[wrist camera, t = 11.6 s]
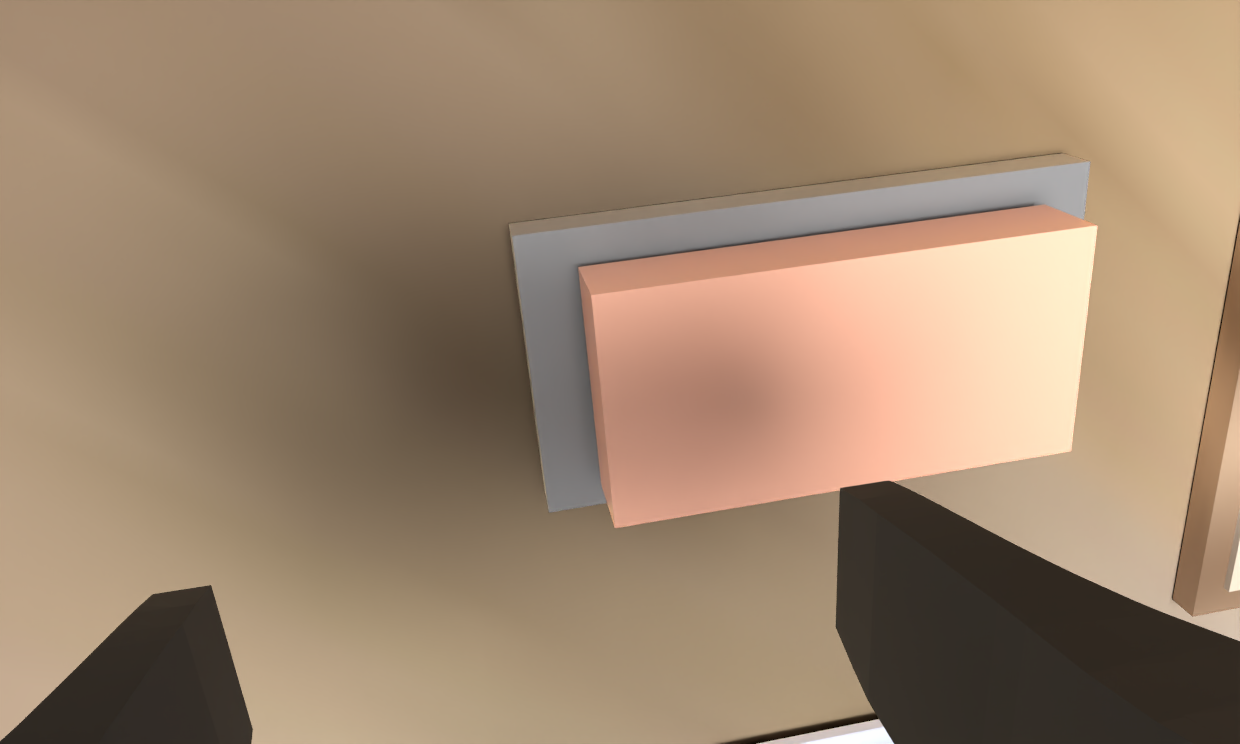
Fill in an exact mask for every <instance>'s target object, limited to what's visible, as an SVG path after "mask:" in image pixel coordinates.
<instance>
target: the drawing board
mask: <svg viewBox="0 0 1240 744" xmlns="http://www.w3.org/2000/svg"><path fill="white" fill-rule="evenodd" d="M1173 600H1174V601H1175V602H1176V603H1177V604H1179V605H1180V606H1181V607H1182V608H1183V609H1184V610H1185V611H1187V612H1188V613H1189V614H1190V615H1191V616H1192V617H1193V616H1198V615H1203V614H1209V613H1214V612H1219V611H1224V610H1229V609H1234V608H1239V607H1240V224H1239V229H1238V235H1237V241H1236V246H1235V252H1234V257H1233V263H1232V269H1231V274H1230V280H1229V285H1228V291H1227V297H1226V302H1225V308H1224V314H1223V319H1222V325H1221V330H1220V336H1219V342H1218V347H1217V353H1216V358H1215V364H1214V370H1213V375H1212V381H1211V387H1210V392H1209V398H1208V403H1207V409H1206V415H1205V420H1204V426H1203V431H1202V437H1201V443H1200V448H1199V454H1198V459H1197V465H1196V471H1195V476H1194V482H1193V488H1192V493H1191V499H1190V504H1189V510H1188V516H1187V521H1186V527H1185V532H1184V538H1183V544H1182V549H1181V555H1180V561H1179V566H1178V572H1177V577H1176V583H1175V589H1174V594H1173Z"/></svg>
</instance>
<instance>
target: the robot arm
mask: <svg viewBox="0 0 1240 744" xmlns="http://www.w3.org/2000/svg"><path fill="white" fill-rule="evenodd" d="M836 629H837V631H838V633H839V636H840V638H841V640H842V643H843V645H844V648H845V650H846V652H847V655H848V657H849V659H850V662H851V664H852V666H853V669H854V671H855V673H856V675H857V677H858V680H859V682H860V684H861V686H862V688H863V691H864V693H865V695H866V697H867V699H868V701H869V703H870V705H871V706H872V708H873V710H874V711H875V713H876V715H877V717H878V718H879V719H877V720H872V721H867V722H862V723H857V724H852V725H847V726H842V727H837V728H832V729H827V730H822V731H817V732H812V733H807V734H802V735H797V736H792V737H787V738H782V739H777V740H773V741H768V742H763V743H758V744H1240V641H1237V640H1234V639H1232V638H1229V637H1226V636H1224V635H1221V634H1218V633H1216V632H1213V631H1210V630H1208V629H1205V628H1202V627H1200V626H1197V625H1194V624H1192V623H1189V622H1186V621H1184V620H1181V619H1178V618H1176V617H1173V616H1170V615H1168V614H1165V613H1163V612H1160V611H1158V610H1155V609H1153V608H1150V607H1148V606H1146V605H1143V604H1141V603H1138V602H1136V601H1134V600H1131V599H1129V598H1127V597H1124V596H1122V595H1120V594H1118V593H1116V592H1113V591H1111V590H1109V589H1107V588H1104V587H1102V586H1100V585H1098V584H1096V583H1093V582H1091V581H1089V580H1087V579H1084V578H1082V577H1080V576H1078V575H1076V574H1074V573H1072V572H1069V571H1067V570H1065V569H1063V568H1061V567H1059V566H1057V565H1055V564H1053V563H1051V562H1049V561H1047V560H1045V559H1043V558H1041V557H1039V556H1037V555H1035V554H1033V553H1031V552H1029V551H1027V550H1025V549H1023V548H1021V547H1019V546H1017V545H1015V544H1013V543H1011V542H1009V541H1007V540H1005V539H1003V538H1001V537H999V536H997V535H996V534H994V533H992V532H990V531H988V530H986V529H984V528H982V527H980V526H978V525H977V524H975V523H973V522H971V521H969V520H967V519H965V518H963V517H961V516H959V515H958V514H956V513H954V512H952V511H950V510H948V509H946V508H944V507H942V506H941V505H939V504H937V503H935V502H933V501H931V500H929V499H927V498H925V497H923V496H921V495H919V494H917V493H915V492H913V491H911V490H909V489H907V488H905V487H903V486H900V485H898V484H896V483H894V482H891V481H889V480H888V481H881V482H875V483H868V484H862V485H856V486H849V487H843V488H840V505H839V538H838V571H837V605H836ZM252 730H253V729H252V725H251V722H250V718H249V715H248V712H247V708H246V705H245V701H244V698H243V694H242V691H241V687H240V684H239V680H238V677H237V673H236V670H235V667H234V663H233V660H232V656H231V653H230V649H229V646H228V642H227V639H226V635H225V632H224V629H223V625H222V622H221V618H220V615H219V611H218V608H217V604H216V601H215V597H214V594H213V590H212V587H211V585H210V586H204V587H197V588H191V589H184V590H178V591H171V592H165V593H159V594H153V595H152V596H150V597H149V598H148V599H147V600H146V601H145V602H144V603H143V604H141V605H140V606H139V607H138V608H137V609H136V610H135V611H134V612H133V613H132V614H131V615H130V616H129V617H128V618H127V619H126V620H125V621H124V622H122V623H121V624H120V625H119V626H118V627H117V628H116V629H115V630H114V631H113V632H112V633H111V634H110V635H109V636H108V637H107V638H106V639H105V640H104V641H103V642H102V643H101V644H100V645H99V646H98V647H97V648H96V649H95V650H94V651H93V652H92V653H91V654H90V655H89V656H88V657H87V658H86V659H85V660H84V661H83V662H82V663H81V664H80V665H79V666H78V667H77V668H76V669H75V670H74V671H73V672H72V673H71V674H70V675H69V676H68V677H67V678H66V679H65V680H64V681H63V682H62V683H61V684H60V685H59V686H58V687H57V688H56V689H55V690H54V691H53V692H52V693H51V694H50V695H49V696H48V697H46V698H45V699H44V700H43V701H42V702H41V703H40V704H39V705H38V706H37V707H36V708H35V709H34V710H33V711H32V712H31V713H30V714H29V715H28V716H27V717H26V718H25V719H24V720H23V721H22V722H21V723H20V724H19V725H18V726H17V727H16V728H14V729H13V730H12V731H11V732H10V733H9V734H8V735H7V736H6V737H5V738H3V739H2V740H1V741H0V744H251V740H252Z"/></svg>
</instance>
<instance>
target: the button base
mask: <svg viewBox="0 0 1240 744" xmlns="http://www.w3.org/2000/svg"><path fill="white" fill-rule="evenodd" d="M1089 169H1090V161H1087V160H1084V159H1081V158H1077V157H1074V156H1071V155H1068V154H1064V153H1059V154H1051V155H1044V156H1036V157H1028V158H1020V159H1012V160H1004V161H996V162H989V163H981V164H973V165H965V166H957V167H949V168H941V169H934V170H926V171H918V172H910V173H902V174H894V175H886V176H879V177H871V178H863V179H855V180H847V181H839V182H831V183H824V184H816V185H808V186H800V187H792V188H784V189H776V190H769V191H761V192H753V193H745V194H737V195H729V196H721V197H714V198H706V199H698V200H690V201H682V202H674V203H666V204H659V205H651V206H643V207H635V208H627V209H619V210H611V211H604V212H596V213H588V214H580V215H572V216H564V217H556V218H549V219H541V220H533V221H525V222H517V223H509V230H510V238H511V245H512V253H513V260H514V268H515V275H516V282H517V290H518V297H519V305H520V312H521V320H522V327H523V335H524V342H525V350H526V357H527V364H528V372H529V379H530V387H531V394H532V402H533V409H534V417H535V424H536V432H537V439H538V446H539V454H540V461H541V469H542V476H543V484H544V491H545V496H546V501H547V506H548V510H549V512H556V511H562V510H568V509H574V508H580V507H586V506H592V505H598V504H604V503H607V501H606V498H605V495H604V492H603V489H602V486H601V478H600V468H599V459H598V450H597V440H596V431H595V421H594V412H593V403H592V393H591V384H590V374H589V365H588V356H587V346H586V337H585V328H584V318H583V309H582V299H581V290H580V281H579V271H578V267H582V266H589V265H597V264H604V263H612V262H619V261H626V260H634V259H641V258H649V257H656V256H664V255H671V254H679V253H686V252H694V251H701V250H708V249H716V248H723V247H731V246H738V245H746V244H753V243H761V242H768V241H776V240H783V239H790V238H798V237H805V236H813V235H820V234H828V233H835V232H843V231H850V230H858V229H865V228H872V227H880V226H887V225H895V224H902V223H910V222H917V221H925V220H932V219H940V218H947V217H955V216H962V215H969V214H977V213H984V212H992V211H999V210H1007V209H1014V208H1022V207H1029V206H1037V205H1044V204H1045V205H1047V206H1050V207H1052V208H1055V209H1057V210H1060V211H1063V212H1065V213H1068V214H1070V215H1073V216H1075V217H1078V218H1080V219H1083V220H1084V214H1085V205H1086V196H1087V187H1088V178H1089Z"/></svg>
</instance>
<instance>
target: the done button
mask: <svg viewBox="0 0 1240 744" xmlns="http://www.w3.org/2000/svg"><path fill="white" fill-rule="evenodd" d="M1096 234H1097V225H1095V224H1093V223H1090V222H1088V221H1085V220H1083V219H1080V218H1078V217H1075V216H1073V215H1070V214H1068V213H1065V212H1063V211H1060V210H1057V209H1055V208H1052V207H1050V206H1047V205H1045V204H1044V205H1037V206H1029V207H1022V208H1014V209H1007V210H999V211H992V212H984V213H977V214H969V215H962V216H955V217H947V218H940V219H932V220H925V221H917V222H910V223H902V224H895V225H887V226H880V227H872V228H865V229H858V230H850V231H843V232H835V233H828V234H820V235H813V236H805V237H798V238H790V239H783V240H776V241H768V242H761V243H753V244H746V245H738V246H731V247H723V248H716V249H708V250H701V251H694V252H686V253H679V254H671V255H664V256H656V257H649V258H641V259H634V260H626V261H619V262H612V263H604V264H597V265H589V266H582V267H578V271H579V281H580V290H581V299H582V309H583V318H584V328H585V337H586V346H587V356H588V365H589V374H590V384H591V393H592V403H593V412H594V421H595V431H596V440H597V450H598V459H599V468H600V478H601V486H602V489H603V492H604V495H605V498H606V501H607V505H608V508H609V511H610V514H611V517H612V520H613V523H614V527H615V528H620V527H626V526H632V525H638V524H644V523H649V522H655V521H661V520H667V519H673V518H679V517H685V516H691V515H697V514H703V513H709V512H714V511H720V510H726V509H732V508H738V507H744V506H750V505H756V504H762V503H768V502H774V501H779V500H785V499H791V498H797V497H803V496H809V495H815V494H821V493H827V492H833V491H839V490H840V488H843V487H849V486H856V485H862V484H868V483H875V482H881V481H888V480H889V481H891V482H892V481H898V480H904V479H910V478H915V477H921V476H927V475H933V474H939V473H945V472H951V471H957V470H963V469H969V468H975V467H980V466H986V465H992V464H998V463H1004V462H1010V461H1016V460H1022V459H1028V458H1034V457H1040V456H1045V455H1051V454H1057V453H1063V452H1069V451H1071V447H1072V438H1073V430H1074V421H1075V413H1076V404H1077V395H1078V387H1079V378H1080V370H1081V361H1082V353H1083V344H1084V336H1085V327H1086V319H1087V310H1088V302H1089V293H1090V285H1091V276H1092V268H1093V259H1094V251H1095V242H1096Z"/></svg>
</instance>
